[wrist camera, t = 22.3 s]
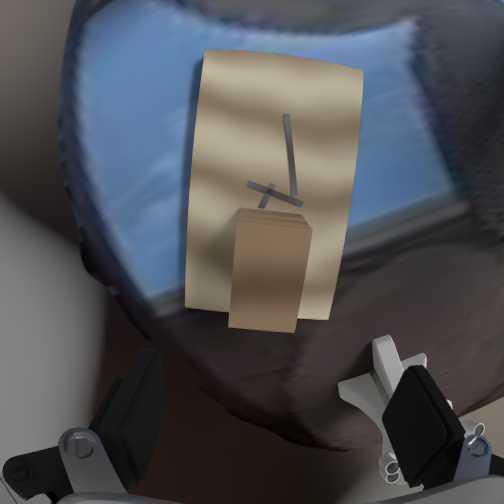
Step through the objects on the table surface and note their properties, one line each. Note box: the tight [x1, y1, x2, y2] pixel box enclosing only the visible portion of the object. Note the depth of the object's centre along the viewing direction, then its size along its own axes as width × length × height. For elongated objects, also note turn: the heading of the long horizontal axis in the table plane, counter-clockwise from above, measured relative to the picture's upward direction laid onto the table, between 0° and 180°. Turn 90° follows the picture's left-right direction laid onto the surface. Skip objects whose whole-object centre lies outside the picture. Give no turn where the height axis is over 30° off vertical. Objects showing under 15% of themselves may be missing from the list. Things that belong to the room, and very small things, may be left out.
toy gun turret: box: [338, 335, 484, 488], centre depth 24 cm, size 12×13×18 cm
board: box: [185, 49, 364, 320], centre depth 26 cm, size 24×14×2 cm, turn 174°
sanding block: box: [228, 207, 313, 333], centre depth 24 cm, size 8×5×6 cm, turn 174°
